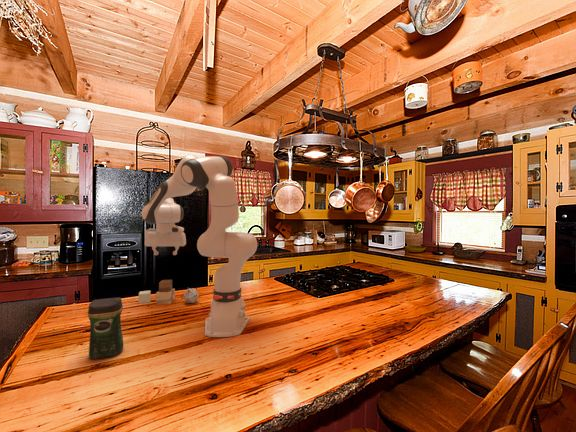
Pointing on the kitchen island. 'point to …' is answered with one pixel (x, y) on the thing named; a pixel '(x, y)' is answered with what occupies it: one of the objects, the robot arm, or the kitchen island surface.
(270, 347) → the kitchen island surface
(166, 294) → the oak base block
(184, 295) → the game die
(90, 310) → the coffee jar
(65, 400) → the kitchen island surface
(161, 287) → the walnut block
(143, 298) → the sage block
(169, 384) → the kitchen island surface
